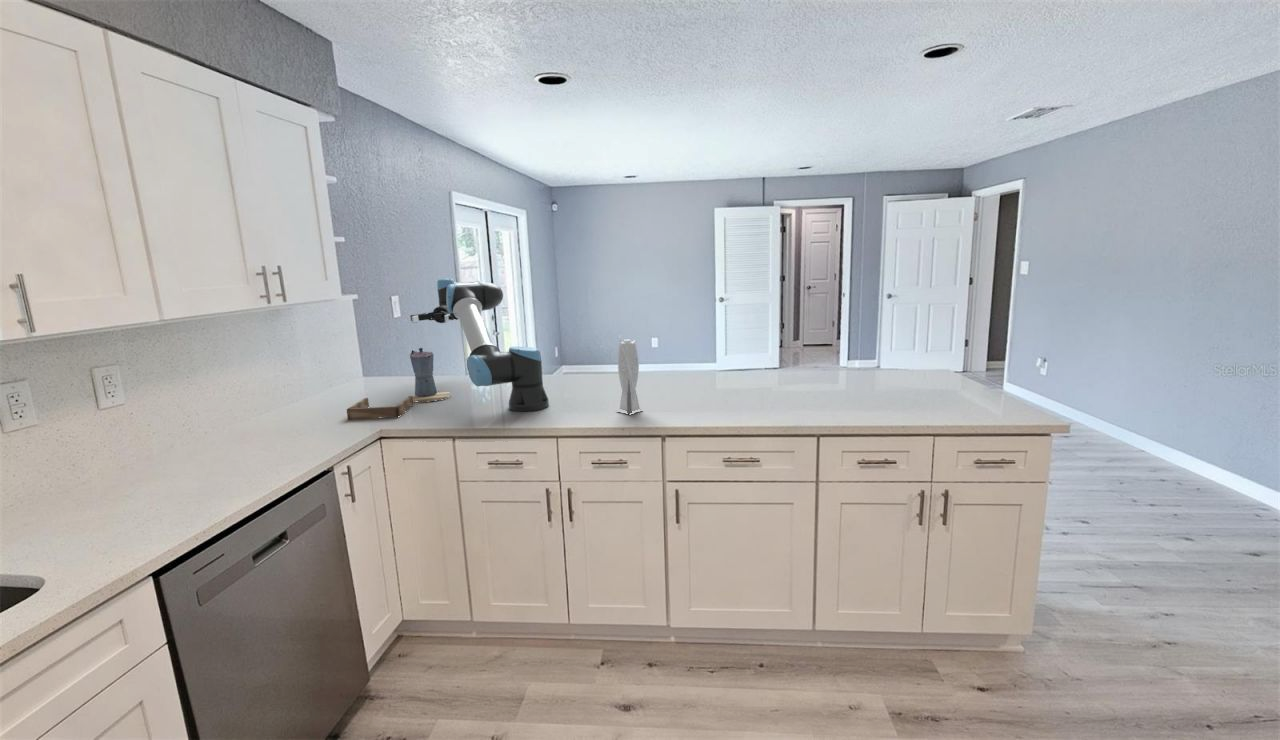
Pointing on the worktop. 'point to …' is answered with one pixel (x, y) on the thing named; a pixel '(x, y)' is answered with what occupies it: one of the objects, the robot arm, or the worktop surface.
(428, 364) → the moka pot
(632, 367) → the skyscraper
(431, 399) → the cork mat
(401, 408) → the frame
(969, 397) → the worktop surface
